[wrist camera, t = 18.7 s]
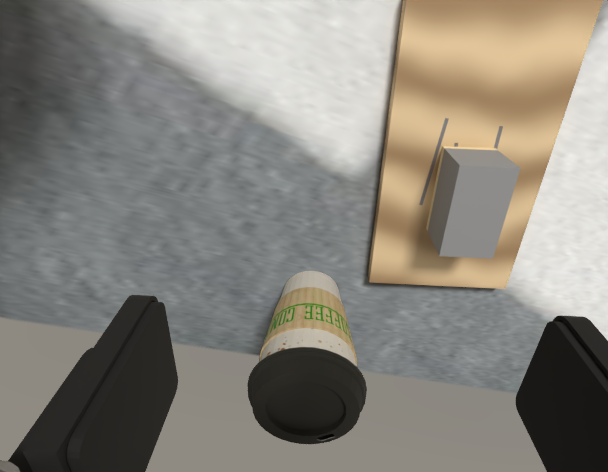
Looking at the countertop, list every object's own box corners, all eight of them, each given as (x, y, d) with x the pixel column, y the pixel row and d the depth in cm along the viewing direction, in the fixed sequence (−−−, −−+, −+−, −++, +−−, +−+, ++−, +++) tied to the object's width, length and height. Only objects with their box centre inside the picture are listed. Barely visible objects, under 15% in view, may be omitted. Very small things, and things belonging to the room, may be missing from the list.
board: (404, -10, 30) (407, -12, 29) (592, -5, 30) (605, -6, 29) (367, 274, 43) (369, 282, 42) (499, 280, 43) (505, 288, 41)
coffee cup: (332, 242, 41) (335, 349, 28) (369, 310, 45) (388, 431, 32) (250, 276, 44) (219, 389, 31) (293, 337, 48) (281, 460, 35)
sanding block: (442, 146, 34) (459, 165, 30) (495, 148, 34) (520, 168, 30) (426, 228, 38) (439, 256, 34) (473, 230, 38) (492, 258, 34)
